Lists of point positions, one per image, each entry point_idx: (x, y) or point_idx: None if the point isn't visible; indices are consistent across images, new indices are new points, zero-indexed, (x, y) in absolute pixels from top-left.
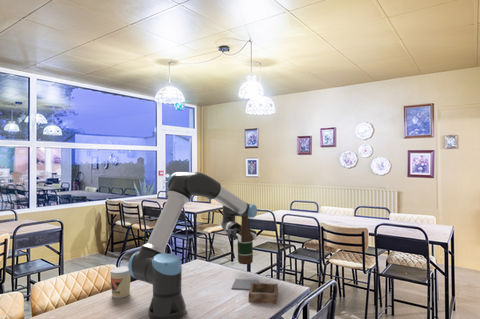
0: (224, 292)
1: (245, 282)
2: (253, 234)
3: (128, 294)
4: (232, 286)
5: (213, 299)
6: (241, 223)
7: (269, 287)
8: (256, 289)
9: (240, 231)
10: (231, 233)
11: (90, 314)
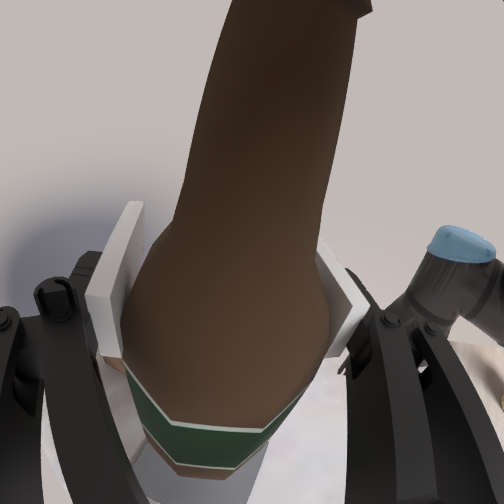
0: (296, 420)
1: (194, 478)
2: (136, 227)
3: (502, 405)
4: (263, 453)
5: (329, 380)
6: (337, 121)
7: None
8: None
9: (314, 261)
10: (425, 334)
11: (494, 347)
